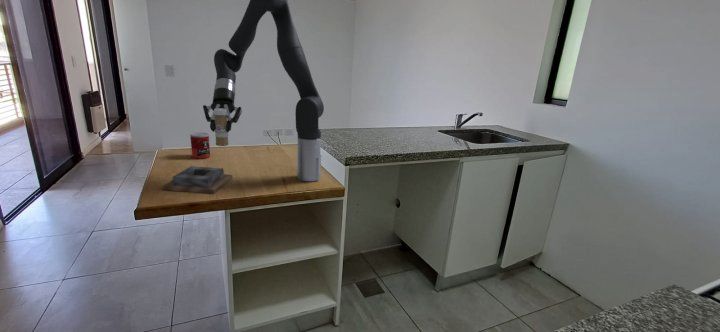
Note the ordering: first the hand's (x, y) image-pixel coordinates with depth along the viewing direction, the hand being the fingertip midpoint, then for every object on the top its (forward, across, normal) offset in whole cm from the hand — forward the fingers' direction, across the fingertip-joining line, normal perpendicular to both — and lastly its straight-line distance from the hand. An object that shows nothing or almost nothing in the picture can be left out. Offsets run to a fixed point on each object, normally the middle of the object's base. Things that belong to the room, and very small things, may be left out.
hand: (220, 130), depth 121 cm
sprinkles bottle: (+3, 0, +6) cm, 6 cm away
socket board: (+15, -8, +14) cm, 22 cm away
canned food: (-10, -15, +40) cm, 44 cm away
